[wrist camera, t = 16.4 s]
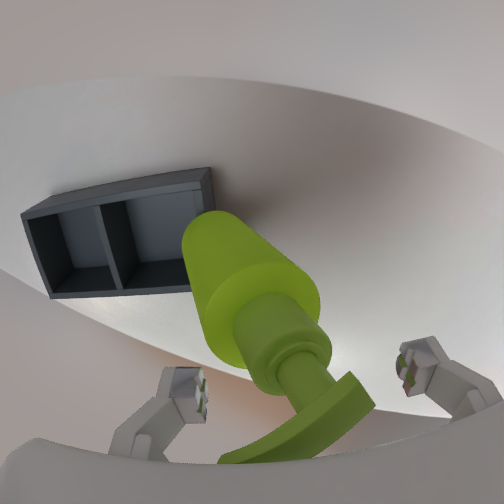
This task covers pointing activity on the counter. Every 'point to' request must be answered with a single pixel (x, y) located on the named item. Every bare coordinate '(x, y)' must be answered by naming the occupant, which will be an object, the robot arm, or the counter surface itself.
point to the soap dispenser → (269, 335)
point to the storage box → (118, 235)
